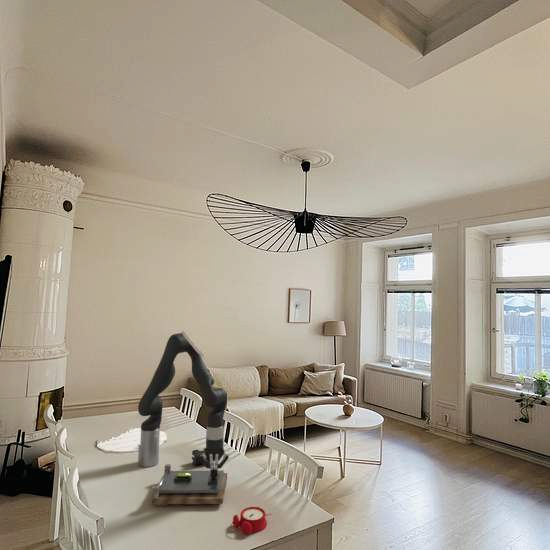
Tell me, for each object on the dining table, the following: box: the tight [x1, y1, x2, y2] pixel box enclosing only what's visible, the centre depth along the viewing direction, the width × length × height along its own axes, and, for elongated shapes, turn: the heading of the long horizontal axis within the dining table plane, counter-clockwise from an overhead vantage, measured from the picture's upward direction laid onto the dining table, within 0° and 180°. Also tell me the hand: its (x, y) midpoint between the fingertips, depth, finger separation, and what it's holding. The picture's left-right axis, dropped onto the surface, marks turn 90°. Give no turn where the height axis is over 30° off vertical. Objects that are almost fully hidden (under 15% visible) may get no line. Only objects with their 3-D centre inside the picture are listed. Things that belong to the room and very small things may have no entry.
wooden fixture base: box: [150, 463, 228, 507], centre depth 162 cm, size 28×23×8 cm
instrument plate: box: [156, 470, 225, 493], centre depth 162 cm, size 26×18×4 cm
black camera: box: [191, 447, 210, 467], centre depth 193 cm, size 10×7×7 cm
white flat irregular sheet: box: [96, 427, 168, 454], centre depth 223 cm, size 40×39×3 cm
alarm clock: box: [230, 506, 272, 536], centre depth 139 cm, size 10×6×15 cm
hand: (214, 477), depth 162 cm, fingers closed
